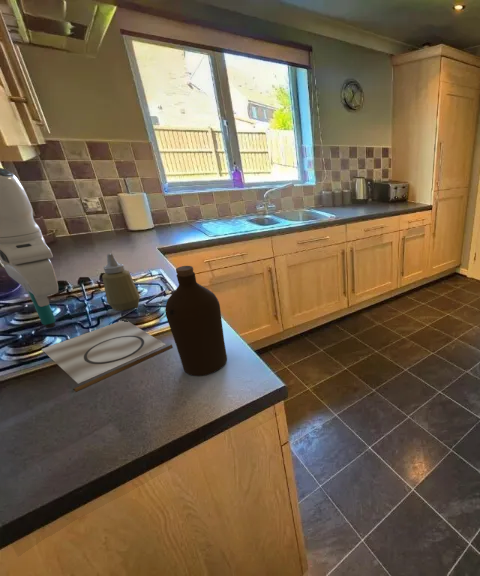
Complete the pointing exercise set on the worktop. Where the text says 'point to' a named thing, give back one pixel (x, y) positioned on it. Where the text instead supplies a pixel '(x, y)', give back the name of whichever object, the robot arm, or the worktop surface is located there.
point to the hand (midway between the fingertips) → (40, 302)
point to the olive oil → (196, 325)
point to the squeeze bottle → (119, 286)
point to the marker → (44, 313)
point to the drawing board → (103, 351)
